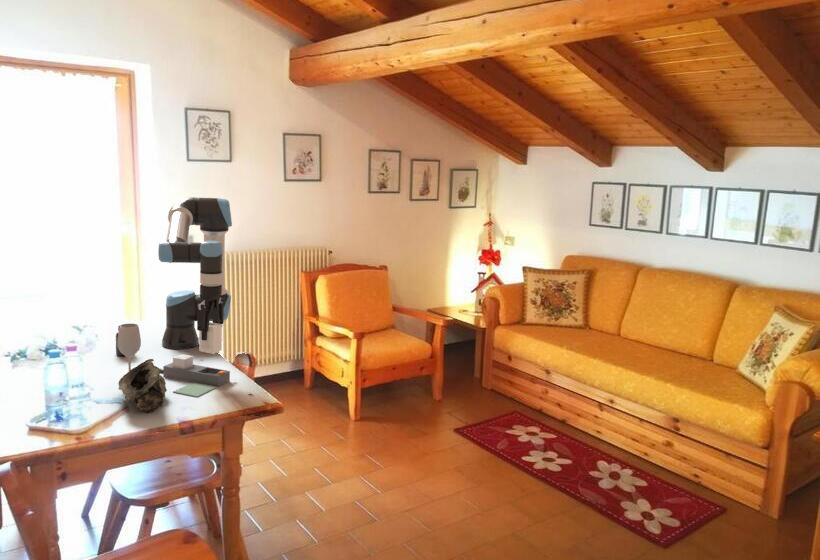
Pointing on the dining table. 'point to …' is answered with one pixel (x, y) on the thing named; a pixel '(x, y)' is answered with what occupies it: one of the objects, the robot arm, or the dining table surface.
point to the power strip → (198, 374)
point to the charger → (213, 338)
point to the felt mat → (194, 389)
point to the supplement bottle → (117, 346)
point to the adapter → (183, 361)
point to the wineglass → (129, 340)
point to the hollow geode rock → (144, 386)
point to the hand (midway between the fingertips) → (210, 346)
